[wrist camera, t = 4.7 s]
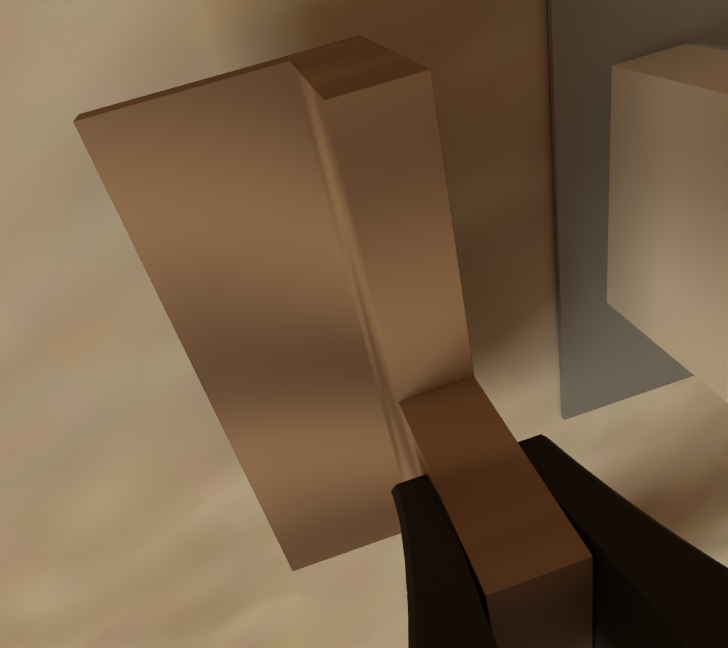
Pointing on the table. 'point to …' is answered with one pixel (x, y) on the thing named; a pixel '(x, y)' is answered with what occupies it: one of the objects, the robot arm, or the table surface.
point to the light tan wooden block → (672, 204)
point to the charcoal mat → (604, 186)
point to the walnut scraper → (337, 315)
